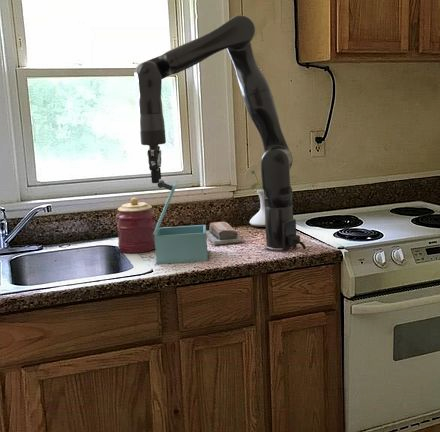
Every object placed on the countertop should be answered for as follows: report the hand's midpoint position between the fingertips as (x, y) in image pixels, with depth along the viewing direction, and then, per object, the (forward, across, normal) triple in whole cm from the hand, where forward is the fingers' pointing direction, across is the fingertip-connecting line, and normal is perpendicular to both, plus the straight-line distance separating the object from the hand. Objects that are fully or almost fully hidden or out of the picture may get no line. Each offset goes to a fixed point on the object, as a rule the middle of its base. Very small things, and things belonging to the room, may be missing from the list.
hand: (156, 181), depth 198 cm
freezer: (+25, 0, -6) cm, 26 cm away
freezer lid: (+8, 0, -2) cm, 9 cm away
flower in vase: (+25, +39, -35) cm, 58 cm away
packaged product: (+25, +22, -20) cm, 39 cm away
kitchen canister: (+25, +16, +9) cm, 31 cm away
